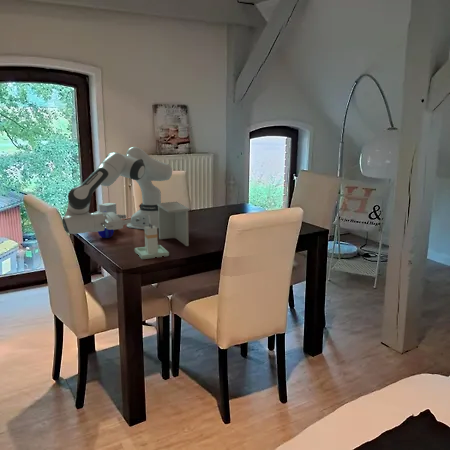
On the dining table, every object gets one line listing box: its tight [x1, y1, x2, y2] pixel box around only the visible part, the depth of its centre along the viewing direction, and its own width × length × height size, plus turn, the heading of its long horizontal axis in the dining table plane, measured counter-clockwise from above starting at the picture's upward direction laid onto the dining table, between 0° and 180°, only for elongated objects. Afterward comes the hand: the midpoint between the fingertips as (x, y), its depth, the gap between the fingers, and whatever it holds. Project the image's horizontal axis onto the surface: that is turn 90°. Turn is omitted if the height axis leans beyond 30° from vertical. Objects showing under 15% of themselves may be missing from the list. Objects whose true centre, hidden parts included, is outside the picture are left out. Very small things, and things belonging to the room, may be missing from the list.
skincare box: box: [98, 202, 118, 231], centre depth 287 cm, size 8×7×16 cm
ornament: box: [97, 211, 115, 239], centre depth 271 cm, size 11×9×15 cm
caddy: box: [143, 223, 159, 254], centre depth 243 cm, size 5×5×14 cm
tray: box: [134, 244, 170, 260], centre depth 244 cm, size 14×14×2 cm
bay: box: [157, 201, 190, 247], centre depth 262 cm, size 11×20×20 cm, turn 25°
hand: (128, 218), depth 236 cm, fingers open, 8 cm apart
